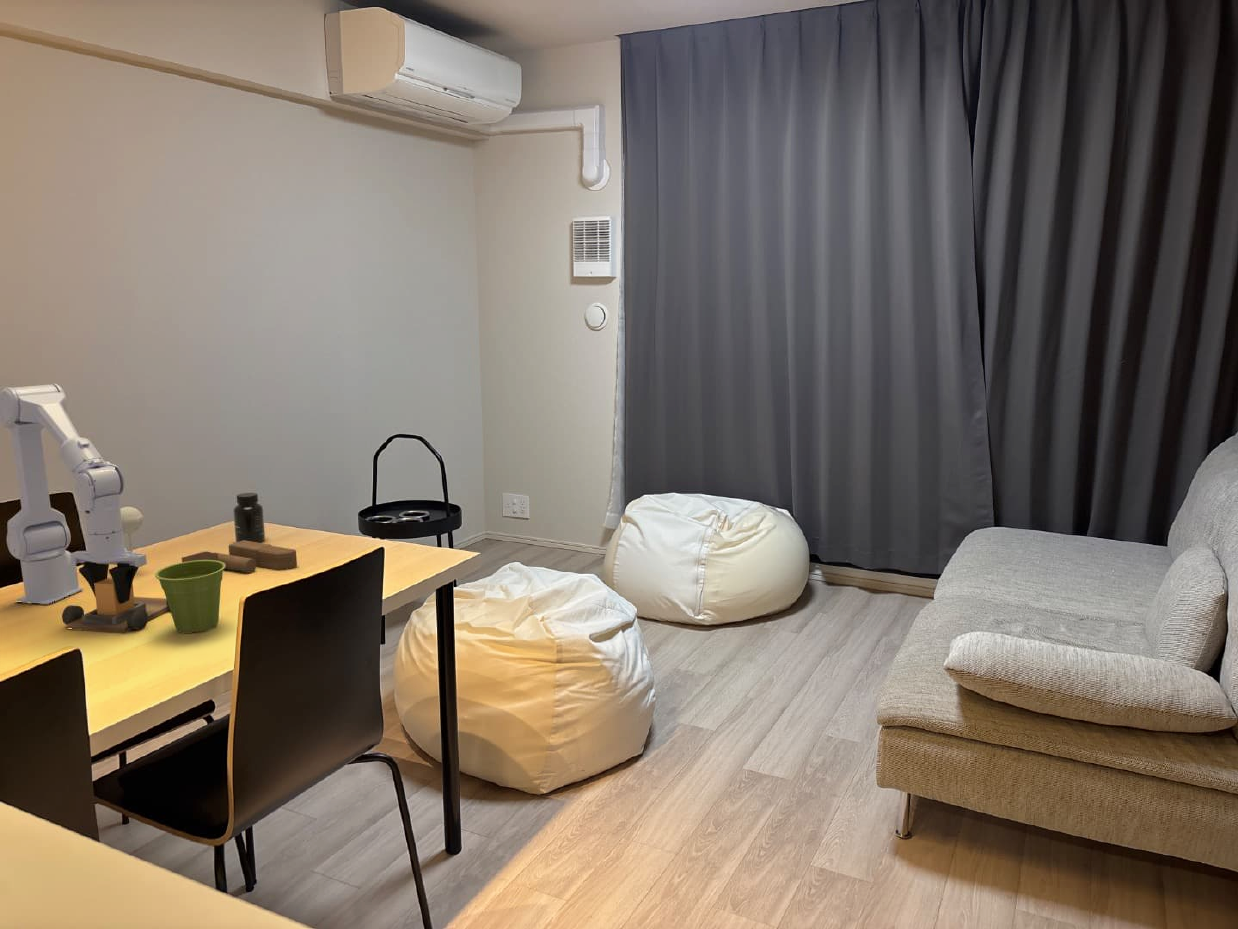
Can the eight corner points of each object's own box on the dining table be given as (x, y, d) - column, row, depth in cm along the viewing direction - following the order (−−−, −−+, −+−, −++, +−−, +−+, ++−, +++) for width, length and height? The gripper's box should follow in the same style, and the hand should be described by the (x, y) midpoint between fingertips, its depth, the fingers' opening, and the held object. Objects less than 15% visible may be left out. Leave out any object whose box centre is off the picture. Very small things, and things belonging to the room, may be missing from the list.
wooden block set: (240, 535, 216) (297, 544, 208) (242, 558, 217) (299, 568, 209) (177, 553, 201) (236, 563, 193) (180, 578, 202) (238, 589, 194)
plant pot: (180, 616, 178) (175, 559, 175) (241, 616, 177) (236, 559, 175) (148, 639, 166) (141, 578, 164) (213, 639, 166) (207, 579, 163)
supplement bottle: (230, 544, 227) (226, 497, 225) (245, 537, 234) (241, 491, 232) (256, 545, 226) (252, 497, 224) (270, 538, 233) (267, 491, 230)
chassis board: (121, 600, 187) (119, 583, 186) (188, 604, 184) (186, 587, 183) (60, 629, 171) (57, 610, 171) (133, 633, 168) (130, 615, 168)
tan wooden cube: (116, 606, 177) (113, 576, 177) (134, 607, 177) (132, 577, 176) (97, 614, 173) (94, 583, 172) (116, 615, 172) (113, 584, 171)
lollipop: (112, 575, 203) (104, 509, 200) (134, 568, 209) (126, 503, 206) (133, 578, 201) (125, 511, 198) (155, 570, 207) (148, 505, 204)
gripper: (154, 527, 174) (161, 596, 176) (86, 524, 176) (95, 592, 179) (128, 537, 167) (136, 608, 170) (58, 533, 170) (67, 604, 172)
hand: (113, 601), depth 174 cm, fingers closed on tan wooden cube, 4 cm apart
